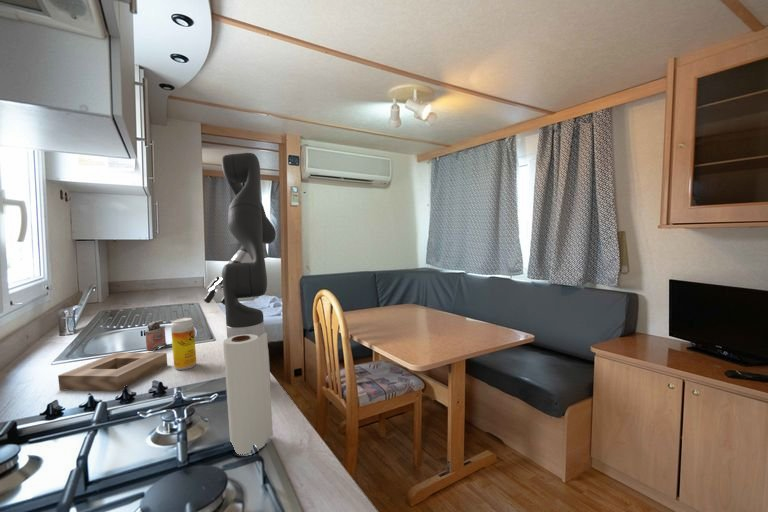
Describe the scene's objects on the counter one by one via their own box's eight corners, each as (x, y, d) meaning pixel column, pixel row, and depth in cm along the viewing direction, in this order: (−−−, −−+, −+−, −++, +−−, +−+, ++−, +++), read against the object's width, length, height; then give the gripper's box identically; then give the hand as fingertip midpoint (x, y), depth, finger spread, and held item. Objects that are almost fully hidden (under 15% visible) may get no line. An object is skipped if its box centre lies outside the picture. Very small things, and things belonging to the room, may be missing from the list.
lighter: (151, 352, 125) (149, 324, 125) (143, 352, 126) (141, 324, 125) (169, 345, 133) (167, 319, 132) (161, 344, 134) (159, 319, 133)
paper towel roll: (227, 460, 63) (219, 344, 61) (234, 441, 69) (227, 334, 67) (268, 454, 64) (261, 340, 63) (273, 436, 70) (266, 331, 68)
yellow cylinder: (189, 370, 107) (185, 322, 106) (170, 370, 107) (166, 322, 106) (200, 362, 113) (197, 317, 112) (181, 363, 113) (178, 317, 112)
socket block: (167, 365, 112) (166, 353, 111) (118, 390, 94) (117, 376, 94) (116, 364, 114) (115, 352, 113) (59, 389, 96) (58, 375, 96)
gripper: (219, 259, 129) (193, 295, 120) (247, 259, 123) (221, 297, 113) (232, 271, 134) (208, 307, 125) (259, 272, 128) (236, 310, 118)
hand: (214, 302), depth 119 cm, fingers open, 8 cm apart
